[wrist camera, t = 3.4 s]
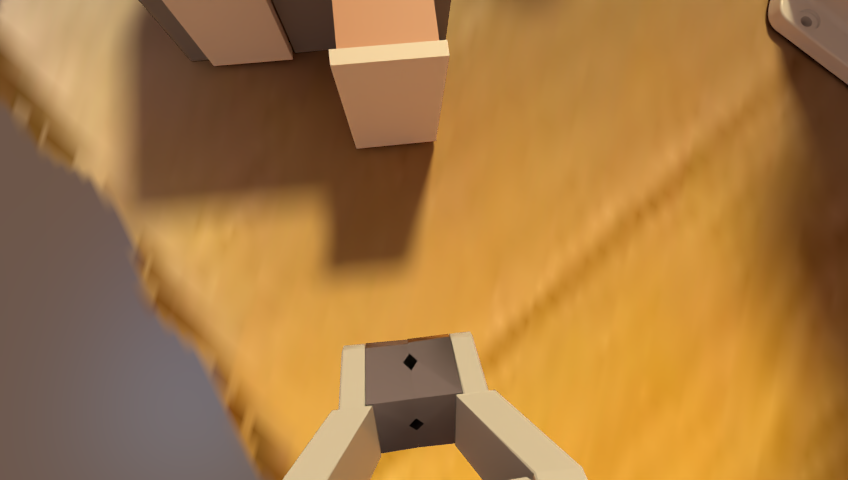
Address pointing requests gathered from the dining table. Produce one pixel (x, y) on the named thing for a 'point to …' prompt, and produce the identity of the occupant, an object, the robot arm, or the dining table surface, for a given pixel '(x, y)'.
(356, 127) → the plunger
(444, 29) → the grey cabinet
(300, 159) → the dining table surface
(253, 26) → the thin beige tile
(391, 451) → the robot arm
